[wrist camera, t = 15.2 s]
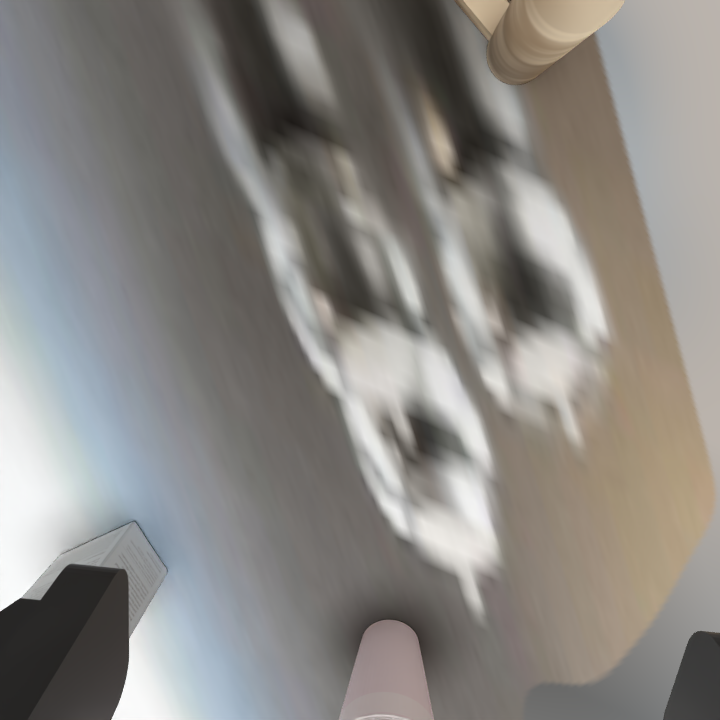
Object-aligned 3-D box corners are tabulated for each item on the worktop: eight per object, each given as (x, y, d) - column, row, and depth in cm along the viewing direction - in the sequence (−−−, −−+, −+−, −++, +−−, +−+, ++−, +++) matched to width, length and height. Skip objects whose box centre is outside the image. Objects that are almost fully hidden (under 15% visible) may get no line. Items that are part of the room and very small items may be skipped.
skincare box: (95, 605, 42) (-23, 767, 30) (59, 553, 41) (-77, 700, 30) (172, 572, 41) (80, 727, 29) (137, 517, 40) (27, 656, 28)
